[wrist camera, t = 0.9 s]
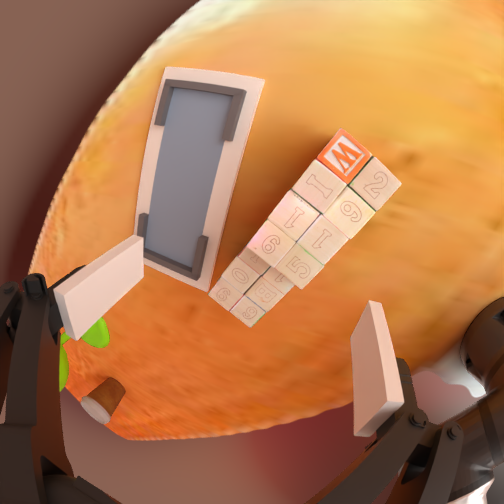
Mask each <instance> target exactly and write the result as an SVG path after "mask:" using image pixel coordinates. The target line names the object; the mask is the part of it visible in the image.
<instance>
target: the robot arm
mask: <svg viewBox="0 0 504 504" xmlns="http://www.w3.org/2000/svg"><path fill="white" fill-rule="evenodd" d="M143 277H144V265H143V237H139V236H136V235H132V236H130V237H129V238H127V239H126V240H124V241H122V242H121V243H119V244H118V245H116V246H115V247H113V248H112V249H110V250H109V251H107V252H106V253H104V254H103V255H101V256H100V257H98V258H97V259H95V260H94V261H92V262H91V263H89V264H88V265H84V266H81V267H78V268H76V269H74V270H73V271H72V272H70V274H67V275H66V276H65V277H63V278H62V279H60V280H59V281H57V282H56V283H55V284H53V285H52V286H51V287H49V288H48V289H47V285H46V281H45V277H44V276H43V275H42V274H40V273H33V274H30V275H27V276H26V277H25V278H23V280H22V286H23V289H24V292H21V291H20V289H19V285H18V284H17V283H16V282H14V281H11V282H6V283H5V284H3V285H2V286H1V287H0V414H1V410H2V407H3V403H4V400H5V396H6V393H7V399H6V416H5V422H4V424H0V504H122V503H120V502H119V501H117V500H116V499H114V498H112V497H111V496H109V495H108V494H106V493H105V492H103V491H102V490H100V489H98V488H97V487H95V486H94V485H92V484H90V483H89V482H87V481H86V480H84V479H83V478H81V477H80V476H78V477H77V478H75V477H74V474H73V471H72V467H71V464H70V463H69V460H68V458H67V456H66V453H65V447H64V440H63V432H62V421H61V408H60V384H59V366H60V340H61V333H60V329H61V328H62V327H63V326H64V329H65V332H66V335H68V336H69V337H71V338H72V339H74V340H76V341H77V340H78V339H79V338H80V337H81V336H82V335H83V334H84V333H85V332H86V331H87V330H88V329H89V328H90V327H91V326H92V325H93V324H94V323H95V322H97V321H98V320H99V319H100V318H101V317H102V316H103V315H104V314H105V313H106V312H107V311H108V310H109V309H110V308H111V307H112V306H113V305H114V304H115V303H116V302H117V301H118V300H120V299H121V298H122V297H123V296H124V295H125V294H126V293H127V292H128V291H129V290H130V289H131V288H132V287H134V286H135V285H136V284H137V283H138V282H139V281H140V280H141V279H142V278H143ZM7 319H9V322H10V323H9V325H8V326H7V324H6V321H7ZM350 341H351V354H352V370H353V393H354V436H365V437H370V436H371V435H372V434H373V433H374V432H375V431H376V432H377V438H376V439H375V440H374V441H373V442H371V443H370V444H369V445H368V446H367V447H366V448H365V450H364V451H363V453H361V454H360V455H359V457H358V458H356V459H355V461H353V462H352V463H351V464H350V465H349V466H348V467H347V468H346V469H345V470H344V471H343V472H342V473H341V474H340V475H339V476H337V477H336V478H335V479H334V480H333V481H332V482H331V483H329V484H328V485H327V486H326V487H325V488H323V489H322V490H321V491H320V492H319V493H317V494H316V495H315V496H314V497H312V498H311V499H310V500H308V501H307V502H306V503H304V504H371V503H372V502H373V501H374V500H375V499H376V497H377V496H378V495H379V494H380V493H381V492H382V491H383V489H384V488H385V487H386V486H387V485H388V484H389V482H390V481H391V480H392V479H393V477H394V476H395V475H396V473H397V472H398V471H399V475H398V479H397V481H396V483H395V485H394V488H393V490H392V492H391V494H390V496H389V498H388V500H387V502H386V503H385V504H487V500H486V492H487V490H488V489H489V487H490V486H491V484H492V482H493V481H494V475H493V468H495V467H496V466H498V465H500V464H501V463H503V462H504V297H503V298H501V299H498V300H497V301H495V302H493V303H492V304H490V305H489V306H488V307H486V308H485V309H484V310H483V311H482V312H481V313H480V314H479V315H478V316H477V317H476V319H475V320H474V321H473V322H472V324H471V325H470V327H469V328H468V330H467V332H466V334H465V336H464V338H463V341H462V344H461V350H460V355H461V359H462V362H463V364H464V367H465V369H466V370H467V371H468V373H470V374H471V375H472V376H473V377H474V378H475V379H476V380H477V381H478V382H479V383H480V384H481V385H482V386H483V387H484V389H485V391H486V394H487V395H486V396H485V397H483V398H482V399H480V400H479V401H477V402H475V403H474V404H472V405H471V406H469V407H468V408H466V409H465V410H463V411H461V412H460V413H458V414H456V415H454V416H453V417H451V418H449V419H447V420H445V421H444V422H442V423H440V424H438V425H436V424H433V423H430V422H429V421H428V418H427V415H426V414H425V413H424V412H423V411H422V410H420V409H419V408H418V407H417V402H416V397H415V392H414V388H413V384H412V379H411V377H410V376H411V375H410V370H409V367H408V365H407V364H406V362H405V361H404V359H401V358H395V353H394V349H393V345H392V341H391V337H390V333H389V329H388V326H387V322H386V318H385V315H384V311H383V308H382V304H381V303H379V302H375V301H371V300H369V301H368V303H367V305H366V307H365V309H364V311H363V313H362V315H361V317H360V319H359V321H358V323H357V325H356V327H355V329H354V331H353V333H352V335H351V337H350Z"/></svg>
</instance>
